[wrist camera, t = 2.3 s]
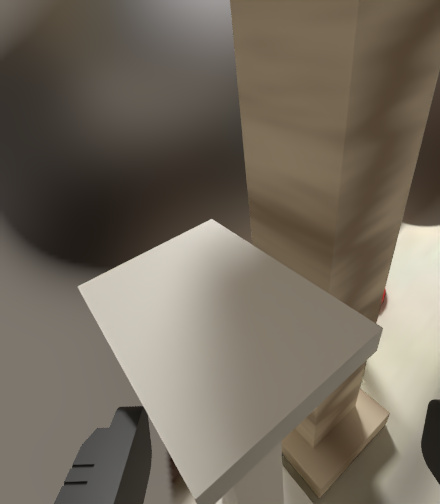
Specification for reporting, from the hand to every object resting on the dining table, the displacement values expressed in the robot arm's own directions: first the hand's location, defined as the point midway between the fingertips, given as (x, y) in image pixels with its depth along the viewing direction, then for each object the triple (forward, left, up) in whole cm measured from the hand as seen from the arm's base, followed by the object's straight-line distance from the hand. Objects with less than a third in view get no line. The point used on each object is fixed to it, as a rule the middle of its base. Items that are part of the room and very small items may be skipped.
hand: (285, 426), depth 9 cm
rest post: (0, -3, -19) cm, 19 cm away
